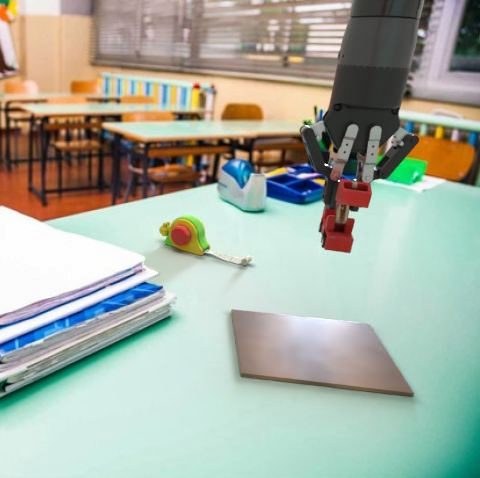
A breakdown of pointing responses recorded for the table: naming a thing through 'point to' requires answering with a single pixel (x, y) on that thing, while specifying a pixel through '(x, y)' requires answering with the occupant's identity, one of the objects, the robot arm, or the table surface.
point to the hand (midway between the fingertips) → (341, 208)
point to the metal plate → (315, 352)
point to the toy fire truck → (343, 215)
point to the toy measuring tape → (193, 238)
